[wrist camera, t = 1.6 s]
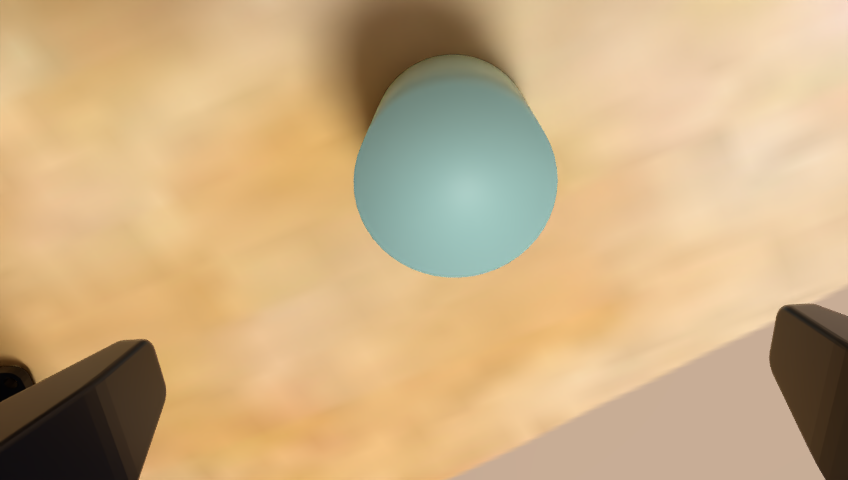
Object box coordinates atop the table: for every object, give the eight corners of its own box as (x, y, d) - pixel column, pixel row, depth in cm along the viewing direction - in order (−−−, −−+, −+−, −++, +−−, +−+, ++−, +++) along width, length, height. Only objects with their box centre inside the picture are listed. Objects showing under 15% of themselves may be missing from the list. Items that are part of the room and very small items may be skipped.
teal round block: (531, 203, 21) (556, 272, 16) (382, 212, 21) (365, 282, 16) (530, 48, 19) (558, 76, 14) (365, 60, 19) (341, 92, 14)
